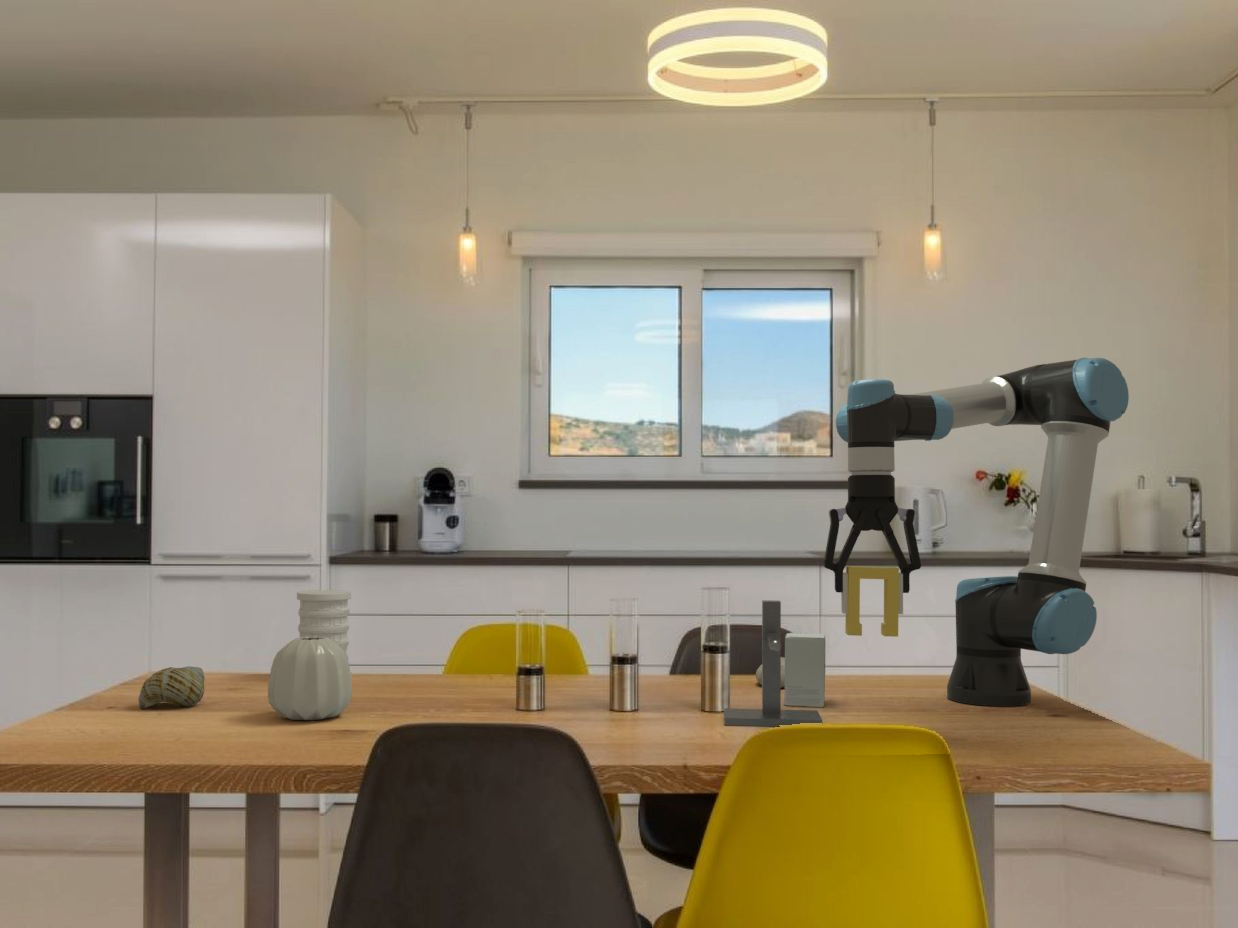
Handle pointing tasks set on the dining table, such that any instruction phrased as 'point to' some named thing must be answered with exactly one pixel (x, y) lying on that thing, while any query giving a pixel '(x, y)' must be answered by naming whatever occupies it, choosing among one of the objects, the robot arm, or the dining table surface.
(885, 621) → the c link
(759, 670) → the stone
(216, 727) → the dining table surface
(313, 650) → the vase
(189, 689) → the seashell
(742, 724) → the stand
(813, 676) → the supplement box
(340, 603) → the decorative container
